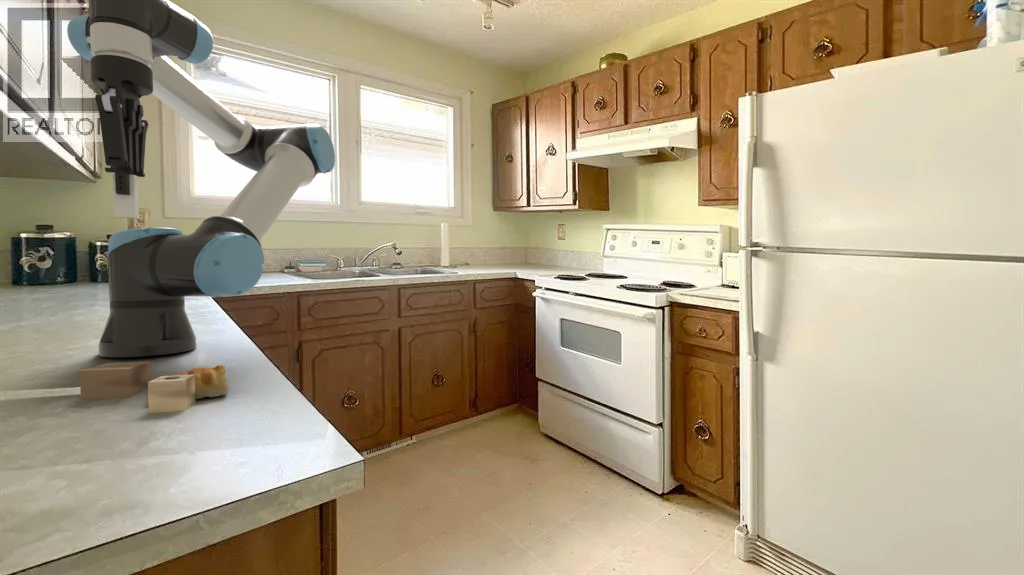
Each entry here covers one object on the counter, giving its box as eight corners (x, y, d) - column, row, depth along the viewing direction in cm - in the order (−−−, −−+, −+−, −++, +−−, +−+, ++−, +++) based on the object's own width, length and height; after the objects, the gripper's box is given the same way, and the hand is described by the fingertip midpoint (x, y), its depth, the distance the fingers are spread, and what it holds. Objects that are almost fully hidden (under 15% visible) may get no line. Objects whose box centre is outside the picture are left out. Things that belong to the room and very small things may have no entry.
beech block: (161, 406, 67) (160, 375, 67) (195, 403, 68) (194, 373, 68) (148, 413, 63) (148, 381, 63) (185, 411, 64) (184, 379, 64)
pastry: (149, 406, 65) (147, 378, 65) (151, 395, 71) (149, 368, 71) (231, 394, 71) (230, 368, 70) (226, 385, 76) (225, 360, 76)
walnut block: (107, 393, 75) (106, 363, 75) (151, 391, 76) (150, 361, 76) (80, 403, 69) (79, 370, 69) (129, 400, 70) (128, 368, 70)
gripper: (111, 76, 81) (115, 221, 82) (70, 40, 69) (75, 211, 70) (165, 81, 84) (169, 222, 84) (134, 47, 71) (139, 213, 72)
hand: (126, 217), depth 77 cm, fingers closed
